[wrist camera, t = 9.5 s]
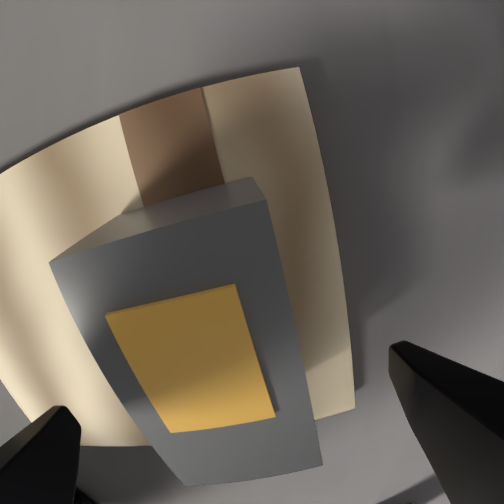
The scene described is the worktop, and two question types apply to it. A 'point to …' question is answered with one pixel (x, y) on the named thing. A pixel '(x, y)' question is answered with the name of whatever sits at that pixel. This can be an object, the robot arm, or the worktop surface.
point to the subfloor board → (153, 191)
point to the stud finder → (197, 333)
